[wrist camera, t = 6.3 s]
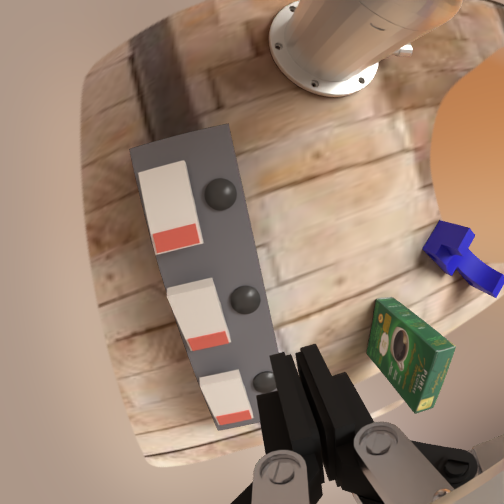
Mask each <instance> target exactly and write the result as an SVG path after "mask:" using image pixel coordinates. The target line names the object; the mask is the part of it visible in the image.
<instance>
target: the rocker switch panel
mask: <svg viewBox="0 0 504 504" xmlns="http://www.w3.org/2000/svg"><path fill="white" fill-rule="evenodd" d="M129 150H130V154H131V159H132V164H133V168H134V173H135V177H136V182H137V186H138V190H139V195H140V199H141V203H142V207H143V211H144V215H145V219H146V223H147V226H148V230H149V234H150V238H151V233H150V229H149V225H148V220H147V215H146V211H145V206H144V201H143V196H142V191H141V185H140V180H139V175H138V173H139V172H142V171H146V170H149V169H153V168H156V167H160V166H164V165H167V164H171V163H175V162H179V161H183V160H184V161H185V162H186V166H187V171H188V175H189V180H190V185H191V189H192V194H193V197H194V200H195V205H196V212H197V216H198V220H199V225H200V229H201V233H202V238H203V242H204V243H203V244H199V245H194V246H190V247H186V248H182V249H178V250H174V251H170V252H166V253H162V254H158V255H155V256H156V259H157V263H158V266H159V269H160V273H161V276H162V279H163V283H164V286H165V289H166V292H167V288H169V287H173V286H178V285H182V284H186V283H191V282H195V281H199V280H203V279H208V278H213V282H214V285H215V288H216V292H217V295H218V298H219V301H220V303H221V306H222V310H223V314H224V318H225V321H226V324H227V327H228V330H229V334H230V339H231V342H230V343H228V344H223V345H219V346H214V347H210V348H205V349H200V350H195V351H191V350H190V348H189V346H188V344H187V342H186V339H185V337H184V335H183V333H182V331H181V328H180V326H179V324H178V322H177V319H176V317H175V315H174V317H175V320H176V323H177V326H178V329H179V332H180V335H181V337H182V340H183V343H184V346H185V349H186V351H187V354H188V357H189V360H190V362H191V365H192V368H193V370H194V373H195V376H196V378H197V381H198V383H199V386H200V380H199V378H200V377H205V376H210V375H215V374H220V373H224V372H229V371H233V370H238V369H239V372H240V375H241V378H242V381H243V384H244V386H245V389H246V393H247V397H248V400H249V402H250V405H251V408H252V412H253V417H254V418H252V419H249V420H244V421H240V422H235V423H230V424H224V425H218V423H217V421H216V419H215V417H214V415H213V413H212V411H211V409H210V407H209V405H208V403H207V401H206V398H205V396H204V394H203V392H202V394H203V396H204V399H205V401H206V403H207V406H208V408H209V411H210V413H211V415H212V418H213V420H214V423H215V425H216V427H217V430H218V431H219V430H224V429H229V428H235V427H240V426H244V425H249V424H254V423H258V422H260V417H259V411H258V405H257V399H256V395H260V394H264V393H269V392H273V391H277V388H276V383H275V379H274V375H273V370H272V366H271V362H270V357H269V355H273V354H278V353H279V352H278V348H277V343H276V338H275V334H274V329H273V324H272V320H271V315H270V310H269V306H268V301H267V297H266V292H265V287H264V283H263V278H262V274H261V269H260V264H259V260H258V255H257V251H256V246H255V241H254V237H253V232H252V228H251V223H250V219H249V214H248V210H247V205H246V200H245V196H244V191H243V187H242V182H241V178H240V173H239V169H238V164H237V160H236V155H235V151H234V146H233V142H232V137H231V133H230V128H229V124H223V125H219V126H214V127H210V128H205V129H201V130H197V131H193V132H189V133H185V134H181V135H177V136H173V137H169V138H165V139H162V140H158V141H155V142H151V143H148V144H144V145H141V146H137V147H134V148H131V149H129ZM151 241H152V238H151ZM152 245H153V242H152ZM153 249H154V246H153ZM154 252H155V251H154ZM172 311H173V310H172ZM173 314H174V312H173ZM201 391H202V390H201Z"/></svg>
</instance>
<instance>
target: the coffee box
mask: <svg viewBox="0 0 504 504" xmlns="http://www.w3.org/2000/svg"><path fill="white" fill-rule="evenodd" d="M455 348H456V346H455V345H453V344H452V343H451V342H450V341H448V340H447V339H446V338H445V337H443V336H442V335H441V334H440V333H438V332H437V331H436V330H435V329H433V328H432V327H431V326H430V325H428V324H427V323H426V322H424V321H423V320H422V319H421V318H419V317H418V316H417V315H415V314H414V313H413V312H412V311H410V310H409V309H408V308H406V307H405V306H404V305H402V304H401V303H400V302H398V301H397V300H396V299H394V298H393V297H389V298H378V299H376V303H375V309H374V313H373V322H372V327H371V333H370V338H369V342H368V348H367V355H368V356H369V357H370V359H371V360H372V361H373V362H374V363H375V365H376V366H377V367H378V368H379V369H380V371H381V372H382V373H383V374H384V375H385V377H386V378H387V379H388V380H389V382H390V383H391V384H392V386H393V387H394V388H395V389H396V391H397V392H398V393H399V394H400V396H401V397H402V398H403V399H404V401H405V402H406V403H407V404H408V406H409V407H410V408H411V409H412V411H413V412H414V413H415V414H416V413H419V412H422V411H425V410H428V409H431V408H433V407H434V405H435V402H436V399H437V397H438V395H439V392H440V390H441V387H442V385H443V382H444V379H445V377H446V374H447V371H448V368H449V366H450V363H451V360H452V357H453V354H454V351H455Z"/></svg>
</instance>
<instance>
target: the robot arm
mask: <svg viewBox="0 0 504 504" xmlns="http://www.w3.org/2000/svg"><path fill="white" fill-rule="evenodd" d="M462 2H463V0H299V1H296V2H293V3H291V4H289V5H287V6H285V7H284V8H283V9H282V10H280V11H279V12H278V14H277V15H276V17H275V18H274V20H273V22H272V24H271V27H270V31H269V47H270V52H271V54H272V57H273V59H274V61H275V63H276V64H277V66H278V67H279V69H280V70H281V71H282V72H283V73H284V74H285V76H286V77H287V78H288V79H290V80H291V81H292V82H294V83H295V84H296V85H298V86H299V87H301V88H303V89H305V90H307V91H309V92H312V93H314V94H317V95H322V96H327V97H342V96H348V95H351V94H353V93H356V92H358V91H360V90H361V89H363V88H365V87H366V86H367V85H368V84H369V83H370V82H371V81H372V79H373V78H374V76H375V74H376V71H377V69H378V63H379V61H381V60H382V59H384V58H389V57H390V55H395V56H400V57H410V56H411V55H412V46H411V45H410V43H411V42H412V41H414V40H416V39H418V38H419V37H421V36H423V35H425V34H426V33H428V32H430V31H432V30H434V29H435V28H437V27H439V26H440V25H442V24H444V23H446V22H447V21H449V20H450V19H451V18H453V17H454V16H455V15H456V13H457V12H458V11H459V9H460V7H461V5H462ZM291 11H292V12H291ZM276 47H277V48H279V49H280V50H278V49H276ZM358 81H359V82H360V83H359V82H358ZM311 84H314V86H315V87H313V86H312V85H311ZM300 351H301V352H298V353H296V360H297V366H298V372H299V375H298V372H297V369H296V367H295V364H294V361H293V358H292V356H291V354H290V355H286V356H285V353H284V352H282V353H278V354H273V355H269V357H270V362H271V366H272V370H273V375H274V379H275V383H276V388H277V391H273V392H269V393H264V394H260V395H256V399H257V405H258V411H259V417H260V423H261V429H262V435H263V441H264V446H265V453H266V455H265V456H263V457H262V458H261V459H259V461H258V462H257V464H256V465H255V468H254V473H253V482H252V483H251V484H250V485H249V486H248V487H247V488H246V489H245V490H244V491H243V492H242V493H241V494H240V495H239V496H238V497H237V498H236V499H235V500H234V501H233V502H232V503H231V504H316V503H317V502H318V501H319V499H320V498H321V497H322V495H323V494H322V486H321V484H322V483H325V482H324V471H323V465H324V467H325V471H326V474H327V477H328V479H329V481H332V480H335V481H336V484H337V487H339V486H341V488H342V490H345V491H348V492H351V493H352V494H353V497H354V499H355V500H356V502H357V503H358V504H504V434H503V435H501V436H498V437H496V438H494V439H492V440H489V441H486V442H483V443H481V444H478V445H476V446H474V447H473V448H472V449H471V450H468V451H465V450H462V449H456V448H449V447H442V446H437V445H431V444H426V443H421V442H416V441H411V440H409V439H408V437H407V436H406V435H405V434H404V433H403V432H402V431H401V430H400V429H399V428H398V427H397V426H396V425H394V424H391V423H388V422H374V421H373V419H372V417H371V416H370V414H369V412H368V410H367V409H366V407H365V405H364V403H363V401H362V400H361V398H360V396H359V394H358V392H357V391H356V389H355V387H354V385H353V383H352V382H351V380H350V378H349V376H348V375H347V373H345V372H344V373H340V374H337V375H334V376H332V375H331V373H330V371H329V369H328V367H327V365H326V363H325V361H324V359H323V357H322V355H321V353H320V351H319V349H318V347H317V346H316V344H313V345H309V346H305V347H302V348H300Z"/></svg>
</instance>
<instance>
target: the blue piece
mask: <svg viewBox="0 0 504 504" xmlns="http://www.w3.org/2000/svg"><path fill="white" fill-rule="evenodd" d="M474 237H475V234H474V233H473V232H472V231H471V229H470V228H468V227H464V226H460V225H456V224H452V223H448V222H444V221H440V220H439V222H438V224H437V225H436V227H435V229H434V230H433V232H432V234H431V236H430V237H429V239H428V240H427V242H426V244H425V245H424V247H423V249H422V250H423V251H424V252H425V253H426V254H427V255H429V256H430V257H431V259H432V260H433V261H434V262H435V263H436V264H437V265H438V266H439V267H440V268H441V269H442V270H443V271H444V272H445V273H446V274H449V275H451V276H452V275H453V273H454V271H455V270H457V271H458V272H459V273H460V274H461V275H462V277H463V278H464V279H465V280H466V281H467V282H468V283H469V285H471V286H473V287H475V288H477V289H479V290H481V291H483V292H485V293H487V294H489V295H491V296H493V297H495V298H496V297H497V295H498V294H499V292H500V290H501V288H502V286H503V285H504V275H503V274H502V273H499V272H497V271H496V270H494V269H492V268H491V267H489V266H488V265H486V264H485V263H483V262H482V261H481V260H480V259H478V258H477V257H476V256H475V255H474V254H473V253H472V252H471V251H470V250H469V249H468V247H469V246H470V244H471V242H472V240H473V239H474Z"/></svg>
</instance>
